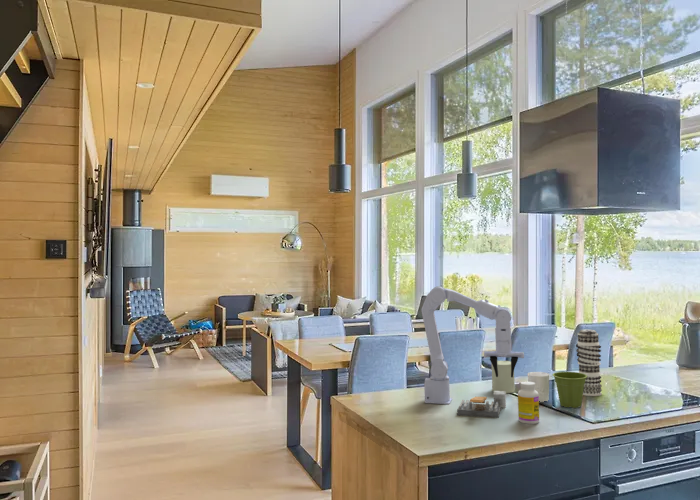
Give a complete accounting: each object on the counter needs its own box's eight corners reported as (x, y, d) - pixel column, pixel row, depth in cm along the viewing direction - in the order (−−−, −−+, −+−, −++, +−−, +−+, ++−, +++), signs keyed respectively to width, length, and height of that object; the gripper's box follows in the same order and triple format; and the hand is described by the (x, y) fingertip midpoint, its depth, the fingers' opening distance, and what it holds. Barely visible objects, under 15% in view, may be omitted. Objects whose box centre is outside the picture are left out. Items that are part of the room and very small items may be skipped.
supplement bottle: (536, 425, 184) (535, 385, 184) (516, 423, 188) (514, 384, 188) (541, 420, 190) (540, 381, 190) (521, 417, 193) (520, 380, 193)
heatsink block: (457, 415, 198) (457, 404, 198) (461, 408, 208) (460, 397, 208) (498, 417, 194) (498, 406, 194) (500, 410, 203) (500, 399, 203)
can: (518, 389, 234) (517, 360, 234) (511, 394, 226) (510, 364, 227) (496, 387, 239) (495, 358, 239) (488, 392, 231) (487, 362, 232)
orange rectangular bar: (470, 404, 194) (470, 399, 194) (475, 401, 209) (475, 396, 209) (482, 404, 193) (482, 400, 193) (486, 401, 207) (486, 397, 208)
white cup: (551, 403, 211) (550, 376, 212) (529, 402, 213) (528, 375, 213) (548, 397, 219) (547, 372, 219) (527, 397, 221) (526, 371, 221)
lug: (493, 408, 205) (493, 393, 206) (494, 405, 210) (494, 390, 210) (505, 409, 204) (504, 394, 204) (506, 405, 209) (505, 391, 209)
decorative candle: (590, 397, 218) (588, 332, 218) (572, 392, 226) (570, 329, 227) (608, 394, 222) (605, 330, 222) (589, 389, 230) (587, 328, 231)
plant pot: (548, 406, 206) (547, 375, 207) (561, 400, 215) (560, 370, 215) (581, 411, 198) (579, 379, 199) (593, 404, 207) (592, 374, 207)
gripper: (482, 341, 212) (483, 378, 212) (523, 342, 208) (524, 379, 207) (484, 338, 219) (485, 374, 219) (523, 339, 214) (524, 375, 214)
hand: (504, 376), depth 213 cm, fingers open, 5 cm apart
